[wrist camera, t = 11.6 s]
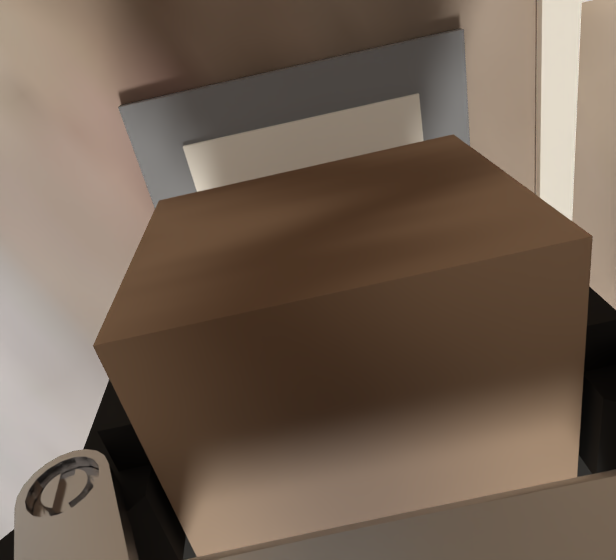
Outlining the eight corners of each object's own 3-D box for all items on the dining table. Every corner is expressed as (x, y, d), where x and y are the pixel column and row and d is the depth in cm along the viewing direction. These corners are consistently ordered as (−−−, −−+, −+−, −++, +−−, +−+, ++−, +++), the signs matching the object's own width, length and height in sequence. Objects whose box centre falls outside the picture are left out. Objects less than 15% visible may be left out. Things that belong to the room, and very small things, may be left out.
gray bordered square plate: (459, 28, 14) (464, 29, 13) (476, 316, 18) (480, 322, 18) (120, 105, 14) (117, 108, 14) (216, 370, 18) (216, 378, 18)
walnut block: (453, 134, 11) (592, 236, 6) (469, 369, 14) (572, 550, 9) (159, 200, 11) (92, 345, 6) (237, 419, 14) (229, 622, 9)
